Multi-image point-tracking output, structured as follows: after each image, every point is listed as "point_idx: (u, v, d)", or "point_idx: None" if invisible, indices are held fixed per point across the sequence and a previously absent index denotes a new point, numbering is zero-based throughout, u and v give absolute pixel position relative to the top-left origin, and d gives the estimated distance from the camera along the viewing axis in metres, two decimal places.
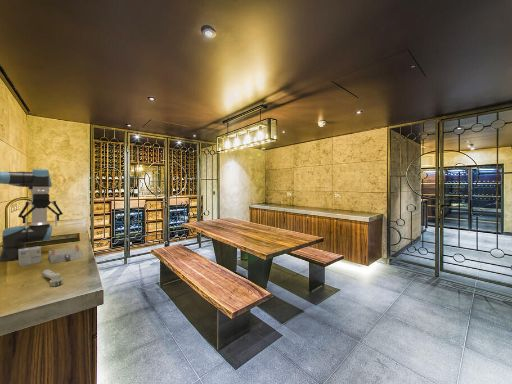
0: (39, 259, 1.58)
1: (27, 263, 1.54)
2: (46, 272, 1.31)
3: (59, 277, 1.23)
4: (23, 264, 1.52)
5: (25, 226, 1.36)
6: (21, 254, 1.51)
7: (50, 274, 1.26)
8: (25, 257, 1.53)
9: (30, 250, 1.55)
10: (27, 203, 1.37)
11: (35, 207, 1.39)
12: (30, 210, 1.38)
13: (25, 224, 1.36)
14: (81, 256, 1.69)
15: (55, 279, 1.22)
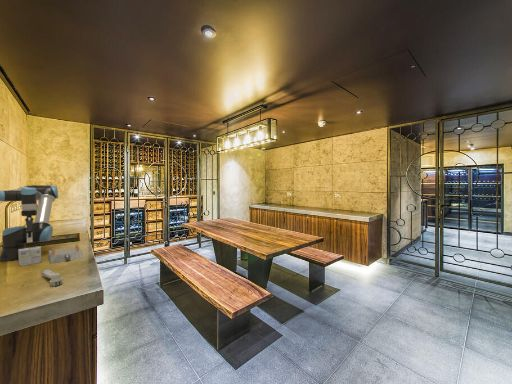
0: (39, 259, 1.58)
1: (27, 263, 1.54)
2: (46, 272, 1.31)
3: (59, 277, 1.23)
4: (23, 264, 1.52)
5: None
6: (21, 254, 1.51)
7: (50, 274, 1.27)
8: (25, 257, 1.53)
9: (30, 250, 1.55)
10: (26, 217, 1.59)
11: None
12: None
13: None
14: (81, 256, 1.69)
15: (55, 279, 1.22)
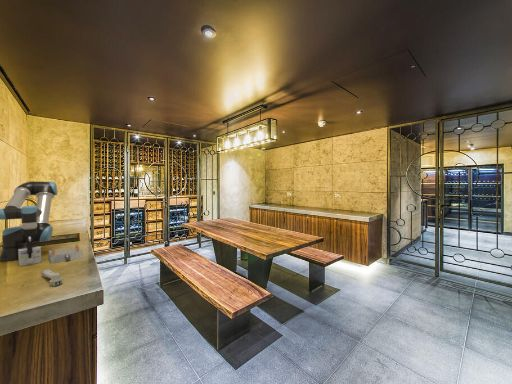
0: (39, 259, 1.58)
1: (27, 263, 1.53)
2: (46, 272, 1.31)
3: (59, 277, 1.23)
4: (23, 264, 1.52)
5: None
6: (21, 254, 1.51)
7: (50, 274, 1.27)
8: (25, 257, 1.53)
9: None
10: None
11: None
12: None
13: None
14: (81, 256, 1.69)
15: (55, 279, 1.22)
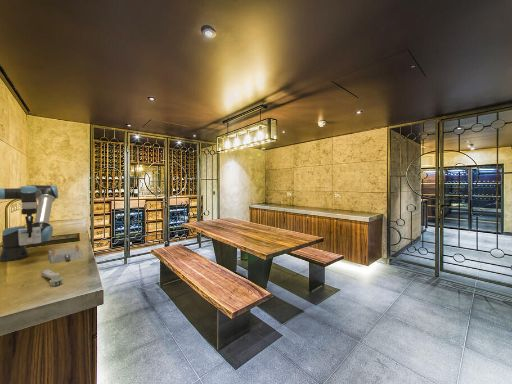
0: (39, 239, 1.58)
1: (27, 243, 1.53)
2: (46, 272, 1.31)
3: (59, 277, 1.23)
4: (23, 243, 1.52)
5: None
6: (21, 234, 1.51)
7: (50, 274, 1.27)
8: (25, 236, 1.53)
9: None
10: None
11: None
12: None
13: None
14: (81, 256, 1.69)
15: (55, 279, 1.22)
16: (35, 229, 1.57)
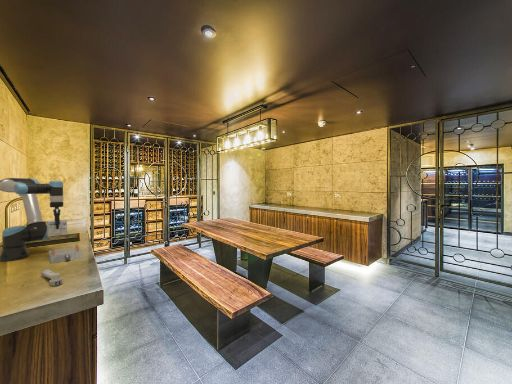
0: (65, 231, 1.67)
1: (55, 234, 1.63)
2: (46, 272, 1.31)
3: (59, 277, 1.24)
4: (51, 234, 1.61)
5: None
6: (49, 225, 1.61)
7: (50, 274, 1.27)
8: (53, 228, 1.62)
9: None
10: None
11: None
12: None
13: None
14: (81, 256, 1.69)
15: (55, 279, 1.22)
16: (62, 221, 1.66)
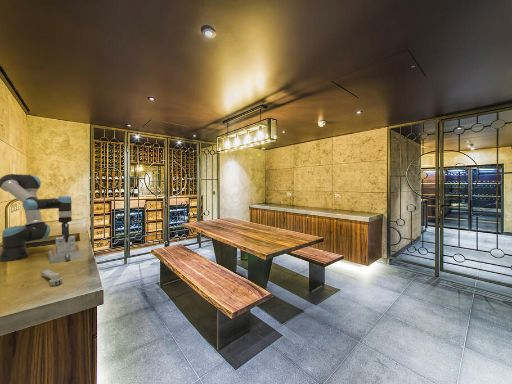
0: (73, 247, 1.71)
1: (63, 250, 1.67)
2: (46, 272, 1.31)
3: (59, 277, 1.24)
4: (60, 251, 1.65)
5: None
6: (58, 242, 1.64)
7: (50, 274, 1.27)
8: (62, 244, 1.66)
9: None
10: (62, 223, 1.73)
11: None
12: (62, 229, 1.72)
13: None
14: (81, 256, 1.69)
15: (55, 279, 1.22)
16: (70, 238, 1.70)
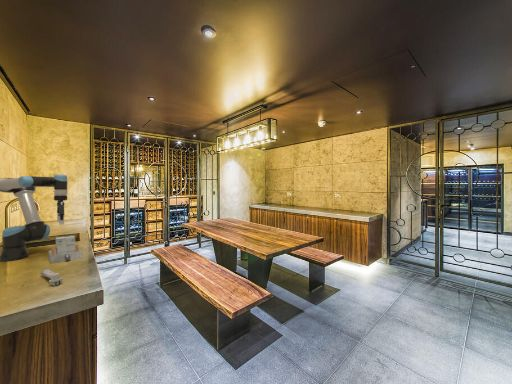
0: (73, 247, 1.71)
1: (63, 250, 1.67)
2: (45, 272, 1.32)
3: (58, 277, 1.24)
4: (60, 251, 1.65)
5: (57, 220, 1.75)
6: (58, 242, 1.64)
7: (49, 274, 1.27)
8: (62, 244, 1.66)
9: (66, 238, 1.68)
10: None
11: (57, 206, 1.71)
12: (57, 208, 1.73)
13: (57, 218, 1.75)
14: (81, 256, 1.69)
15: (55, 279, 1.22)
16: (70, 238, 1.70)
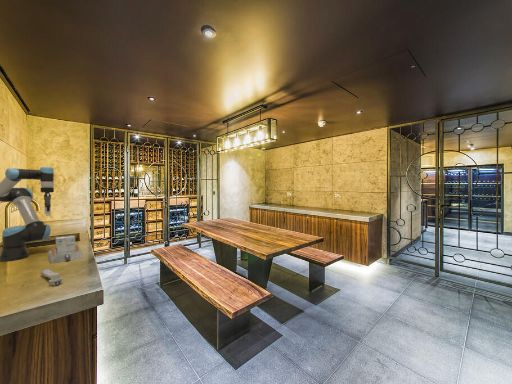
0: (73, 247, 1.71)
1: (63, 250, 1.67)
2: (45, 272, 1.32)
3: (58, 276, 1.24)
4: (60, 251, 1.65)
5: None
6: (58, 242, 1.64)
7: (49, 274, 1.27)
8: (62, 244, 1.66)
9: (66, 238, 1.68)
10: None
11: (44, 198, 1.74)
12: None
13: None
14: (81, 256, 1.69)
15: (54, 279, 1.22)
16: (70, 238, 1.70)
